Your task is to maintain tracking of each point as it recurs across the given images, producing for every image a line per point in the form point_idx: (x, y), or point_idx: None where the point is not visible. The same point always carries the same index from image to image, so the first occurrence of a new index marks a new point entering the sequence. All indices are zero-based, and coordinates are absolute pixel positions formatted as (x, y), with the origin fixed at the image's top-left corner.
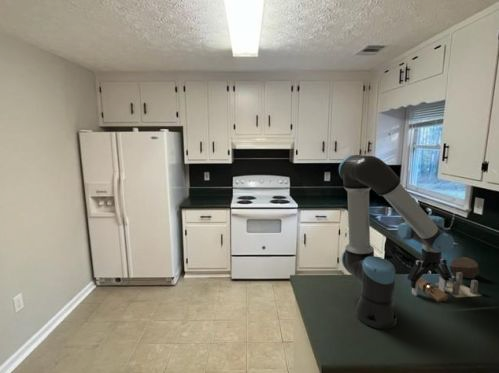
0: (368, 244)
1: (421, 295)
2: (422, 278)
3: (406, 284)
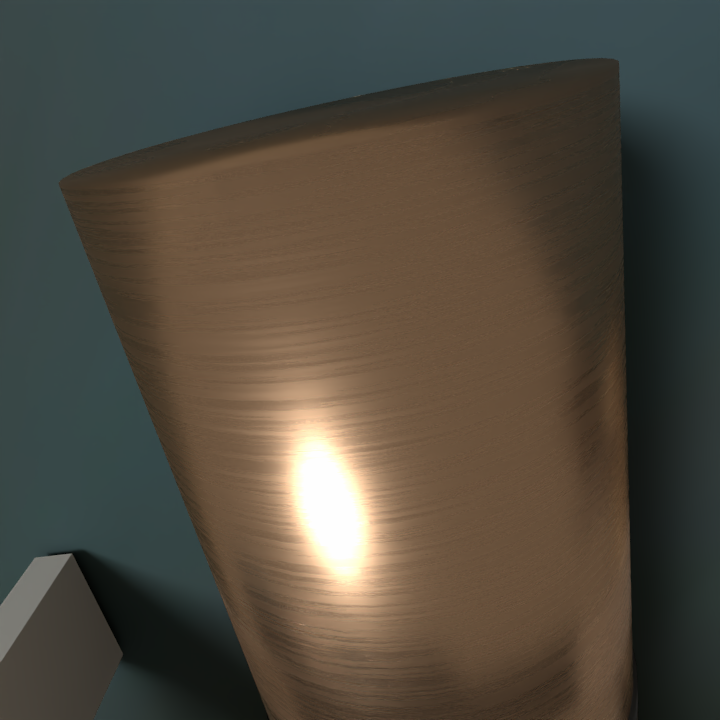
0: None
1: None
2: (452, 530)
3: (11, 61)
